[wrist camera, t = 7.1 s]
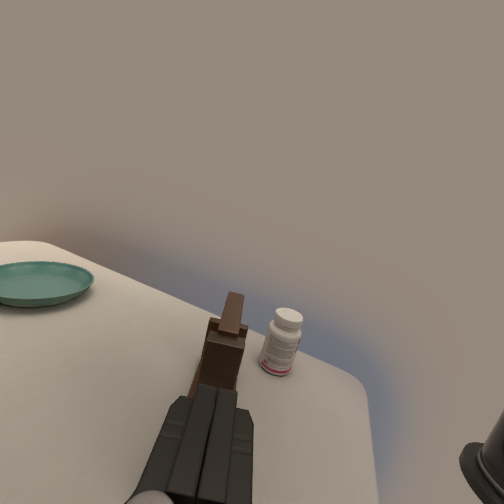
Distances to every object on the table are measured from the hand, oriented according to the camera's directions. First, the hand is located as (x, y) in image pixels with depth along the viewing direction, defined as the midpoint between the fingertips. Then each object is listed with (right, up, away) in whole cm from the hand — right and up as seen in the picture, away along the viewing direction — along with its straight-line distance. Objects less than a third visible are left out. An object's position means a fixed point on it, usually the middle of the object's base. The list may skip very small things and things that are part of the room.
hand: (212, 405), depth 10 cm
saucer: (-33, -1, +32) cm, 46 cm away
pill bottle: (+5, -11, +28) cm, 31 cm away
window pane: (-3, -11, +12) cm, 17 cm away
